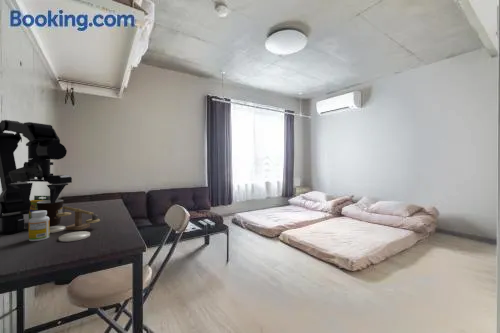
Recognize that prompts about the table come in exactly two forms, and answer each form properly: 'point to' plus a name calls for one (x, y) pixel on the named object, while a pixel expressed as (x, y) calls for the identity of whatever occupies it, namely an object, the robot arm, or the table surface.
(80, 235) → the dish low
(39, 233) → the supplement bottle
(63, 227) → the dish high
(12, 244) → the table surface
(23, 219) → the robot arm
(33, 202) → the crayon box
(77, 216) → the balance
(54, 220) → the coffee mug
